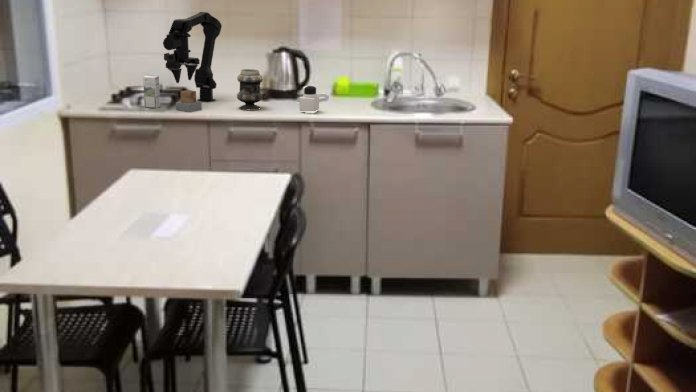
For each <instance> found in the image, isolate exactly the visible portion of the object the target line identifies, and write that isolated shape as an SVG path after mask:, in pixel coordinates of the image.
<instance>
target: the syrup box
mask: <svg viewBox="0 0 696 392" xmlns="http://www.w3.org/2000/svg"><path fill="white" fill-rule="evenodd" d="M142 78H143V79H142V80H143V82H142V83H143V98H144V100H143V102H144V103H143V104H144V108H147V109H157V108H159V107H160V106H161V100H160V99H161V97H160V96H161V95H160V76H159V75H152V74H145V75H144V76H142Z"/></svg>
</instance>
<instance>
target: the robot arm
mask: <svg viewBox="0 0 696 392" xmlns="http://www.w3.org/2000/svg"><path fill="white" fill-rule="evenodd" d="M198 25H200V26H201V27H202V32H203V34H204V42H203V47H202V48H203V49H202V54H201V61H200V59H199V58H198V57H191V56H190V53H191V49H190V48H189V38H190V37H191V34H190V33H189V32H190V31H192V28H194V27H195V26H198ZM222 26H223V25H222V23H221V22H220V20H219V19H217V18H216V17H215V16H213V15H211V14H210V13H209V12H207V11H200V12H198V13H196V14H193V15H192V16H188V17H187V18H178V19H177V18H176V19H174V20H173V21H172V23H171V26H170V29H169V32H168V34H166V37H165V38H164V39H163V42H162V45H163V47H164V49H165V50H166V51H172V50H173V53H169V52H166V53H164V54H163V60H164V61H165V62H166V63H165V69H167V70H169V71H170V72H171V73H172V75H173V78H174V80H175V83H176V84H179V83H180V80H181V73H182V70H183V69H182V68H181V67H182V66H184V67H185V68H186V72H187V74H186V75H187V79H188V81H191V80H192V78H193V77H194V78H193V79H194V80H193V81H194V83H195V88H196V89H197V88H199V98H198V99H197V98H196V101H198V102H207V103H208V102H209V103H210V102H212V101H216V98H214V97H213V96H214V95H213V94H214V93H213V92H214V90H215V89H217V82H216V81H215V80H214V73H213V70H212V63H213V58H214V57H213V56H214V51H215V46H216V45H215V44H216V39H217V38H218V36H220V34H221V31H222ZM199 65H200V66H199ZM198 66H199V68H197V67H198ZM193 75H194V76H193Z"/></svg>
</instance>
